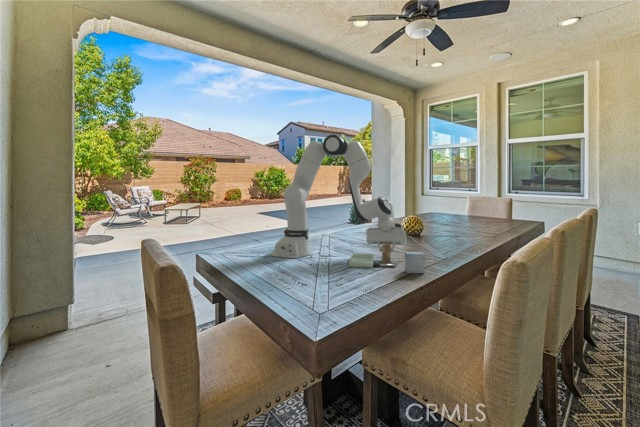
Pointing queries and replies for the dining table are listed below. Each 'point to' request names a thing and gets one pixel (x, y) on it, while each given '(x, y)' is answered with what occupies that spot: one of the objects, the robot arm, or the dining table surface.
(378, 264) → the pin gauge
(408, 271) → the medicine box
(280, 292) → the dining table surface
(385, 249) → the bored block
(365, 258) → the tray
